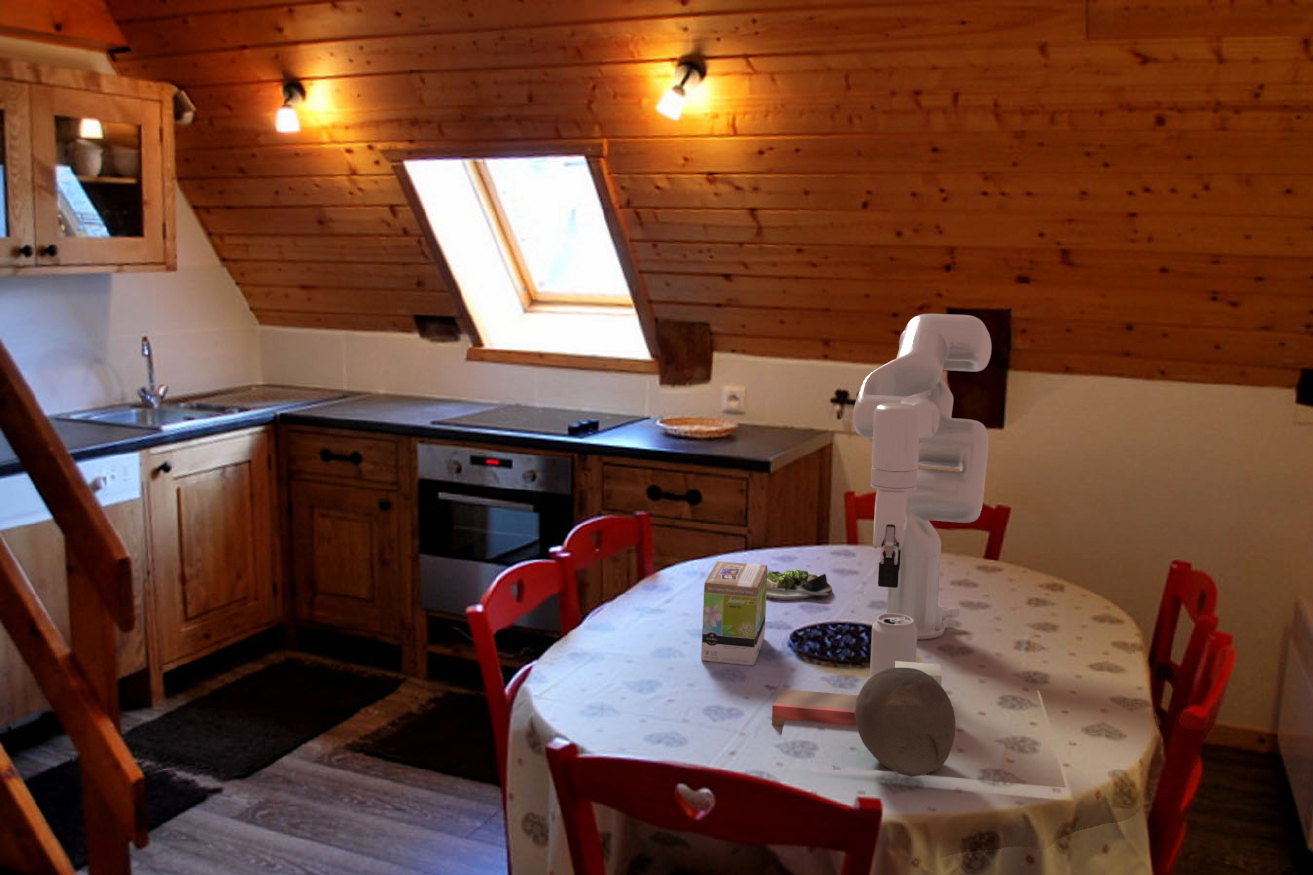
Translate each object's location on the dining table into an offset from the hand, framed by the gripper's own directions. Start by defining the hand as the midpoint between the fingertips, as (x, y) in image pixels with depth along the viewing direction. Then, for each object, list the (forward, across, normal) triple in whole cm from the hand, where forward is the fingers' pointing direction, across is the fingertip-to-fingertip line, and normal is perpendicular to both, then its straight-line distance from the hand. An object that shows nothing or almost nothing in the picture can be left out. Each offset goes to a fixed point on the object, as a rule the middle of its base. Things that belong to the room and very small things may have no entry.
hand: (888, 578), depth 204 cm
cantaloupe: (+19, +32, +4) cm, 38 cm away
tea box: (+19, -10, -27) cm, 35 cm away
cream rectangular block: (+18, +15, +6) cm, 24 cm away
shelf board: (+19, +15, -4) cm, 24 cm away
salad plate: (+19, -50, -21) cm, 57 cm away
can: (+19, 0, +1) cm, 19 cm away
